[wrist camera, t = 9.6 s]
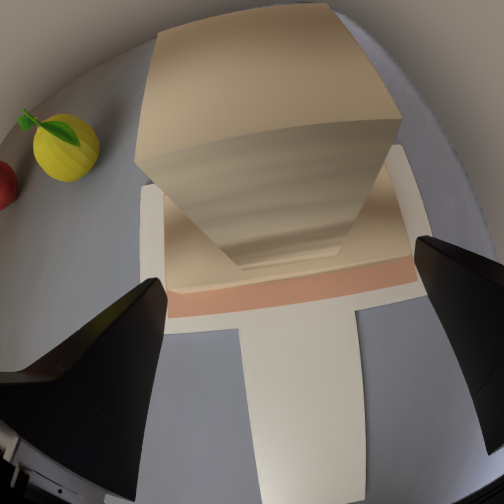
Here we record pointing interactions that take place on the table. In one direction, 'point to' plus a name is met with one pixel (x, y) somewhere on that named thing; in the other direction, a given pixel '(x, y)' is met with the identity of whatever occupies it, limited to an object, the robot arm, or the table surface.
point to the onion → (7, 185)
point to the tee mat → (299, 352)
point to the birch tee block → (269, 149)
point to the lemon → (63, 145)
